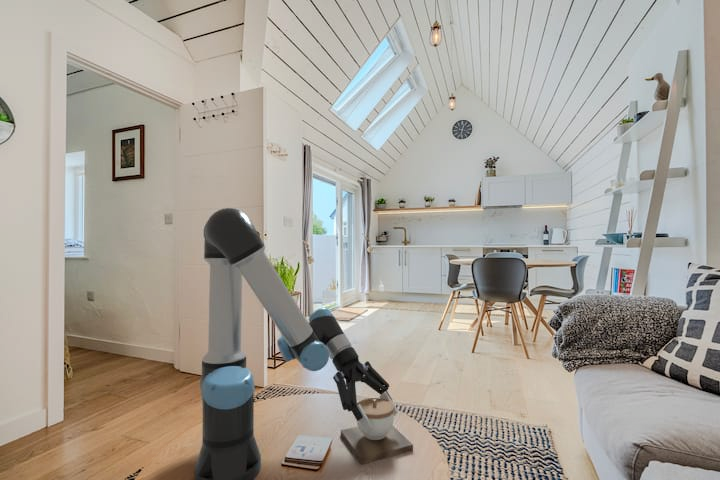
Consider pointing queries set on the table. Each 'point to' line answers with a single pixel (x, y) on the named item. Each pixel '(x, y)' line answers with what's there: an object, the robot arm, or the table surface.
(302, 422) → the table surface
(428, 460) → the table surface
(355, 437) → the brown metal plate
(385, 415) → the lidded jar
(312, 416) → the table surface
